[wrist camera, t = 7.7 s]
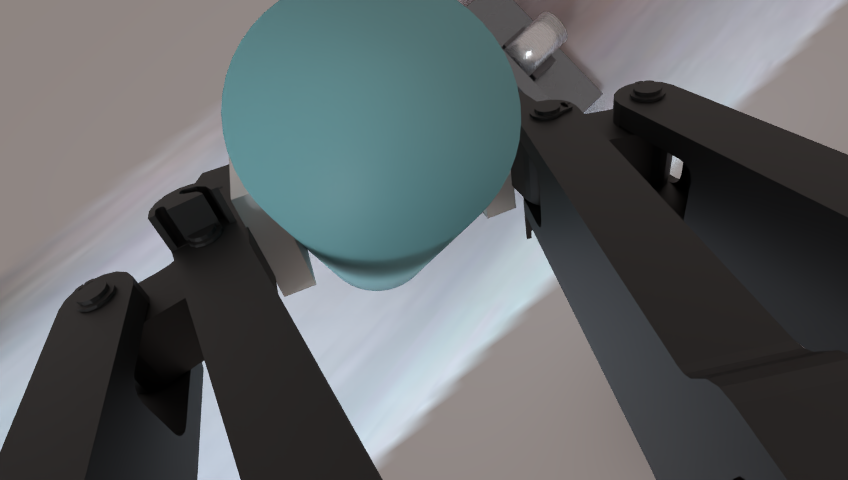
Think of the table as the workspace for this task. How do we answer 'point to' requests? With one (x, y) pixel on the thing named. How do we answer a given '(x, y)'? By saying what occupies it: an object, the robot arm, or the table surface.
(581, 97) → the stand
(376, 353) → the table surface
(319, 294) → the table surface
